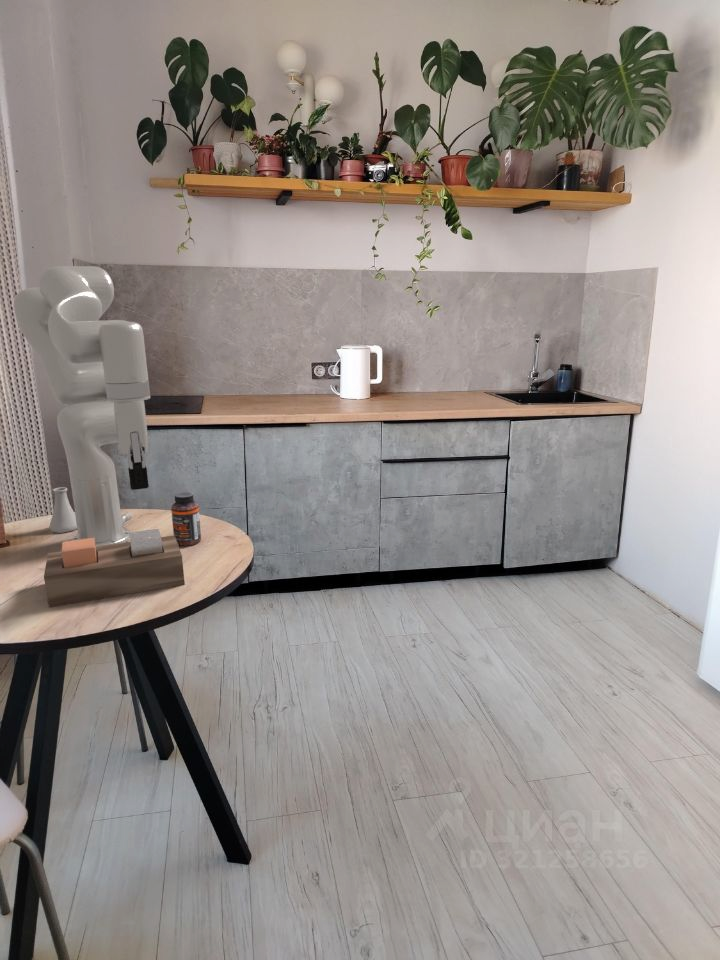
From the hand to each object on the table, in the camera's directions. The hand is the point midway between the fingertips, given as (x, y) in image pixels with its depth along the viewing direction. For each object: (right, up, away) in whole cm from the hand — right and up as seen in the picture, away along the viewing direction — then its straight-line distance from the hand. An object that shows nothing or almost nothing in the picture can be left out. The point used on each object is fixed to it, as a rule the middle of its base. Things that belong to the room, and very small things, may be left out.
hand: (139, 487), depth 127 cm
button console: (-5, -19, +3) cm, 20 cm away
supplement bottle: (+3, -13, +24) cm, 27 cm away
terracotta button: (-11, -16, 0) cm, 19 cm away
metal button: (0, -14, +4) cm, 15 cm away
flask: (-29, -11, +35) cm, 47 cm away
